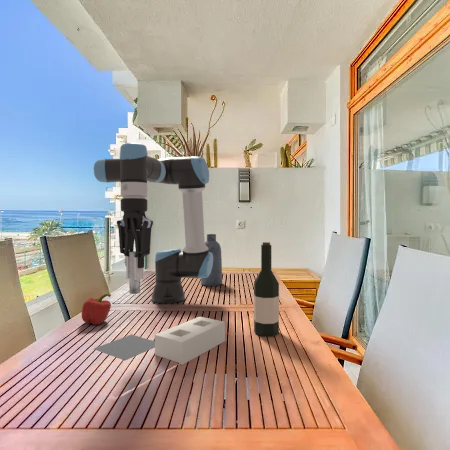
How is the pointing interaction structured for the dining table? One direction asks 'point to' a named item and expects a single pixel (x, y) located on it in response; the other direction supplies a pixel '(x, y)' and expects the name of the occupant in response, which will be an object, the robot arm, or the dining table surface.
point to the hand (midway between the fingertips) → (134, 278)
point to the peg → (133, 284)
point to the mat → (127, 347)
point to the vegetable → (96, 310)
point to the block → (189, 339)
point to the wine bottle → (266, 297)
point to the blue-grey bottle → (214, 262)
